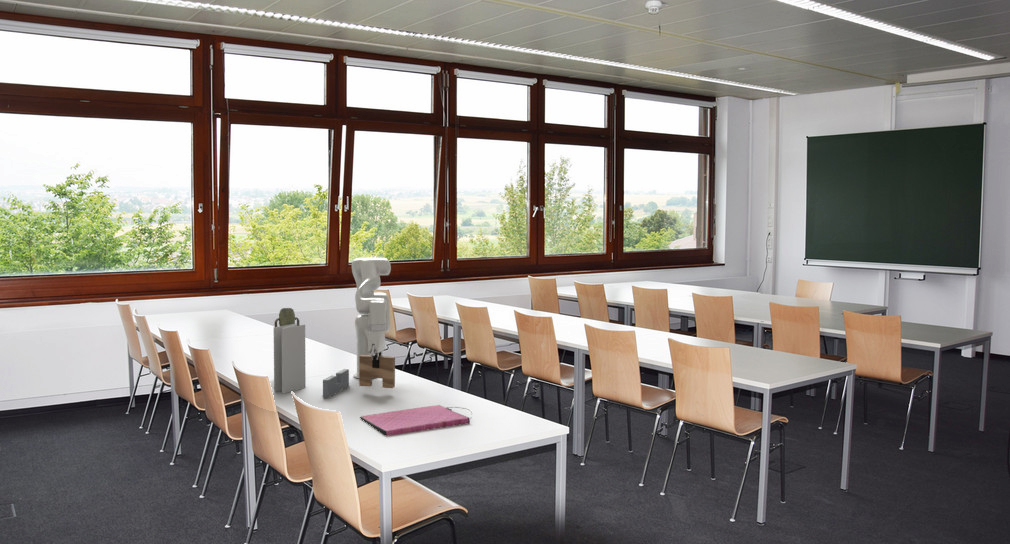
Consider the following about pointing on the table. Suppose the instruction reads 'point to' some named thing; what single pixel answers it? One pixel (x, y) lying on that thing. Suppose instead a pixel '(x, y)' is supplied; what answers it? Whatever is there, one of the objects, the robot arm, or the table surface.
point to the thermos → (286, 317)
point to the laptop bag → (415, 419)
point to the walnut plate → (377, 371)
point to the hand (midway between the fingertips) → (377, 366)
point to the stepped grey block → (335, 383)
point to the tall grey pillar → (289, 358)
